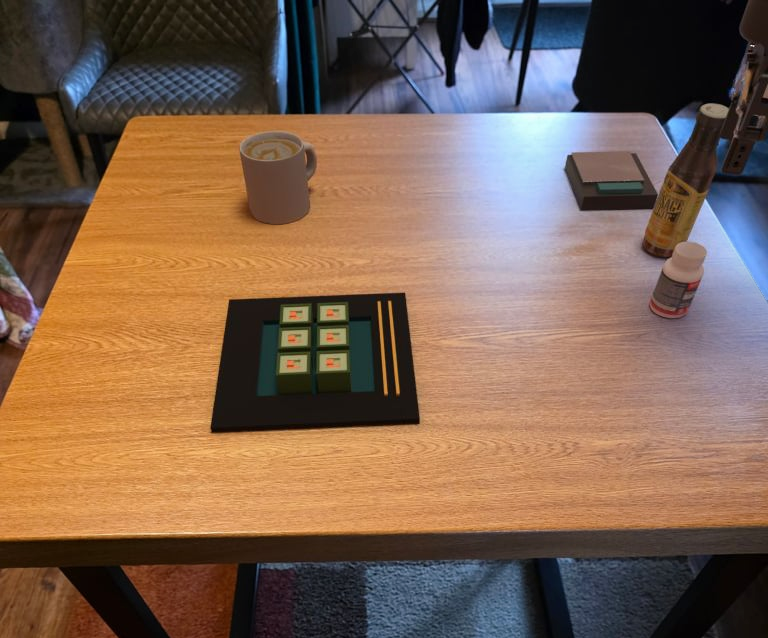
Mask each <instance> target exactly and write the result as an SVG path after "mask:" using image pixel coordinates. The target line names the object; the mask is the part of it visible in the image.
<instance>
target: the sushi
mask: <svg viewBox="0 0 768 638" xmlns="http://www.w3.org/2000/svg"><path fill="white" fill-rule="evenodd" d="M224 325H225V326H224V332H223V338H222V345H221V352H220V357H219V358H220V359H219V367H218V372H217V379H216V387H215V394H214V401H213V407H212V412H211V413H212V414H211V420H210V427H209V428H210V432H211V433H212V434H215V433H239V432H260V431H261V432H264V431H285V430H303V429H304V430H306V429H307V430H309V429H329V428H331V429H333V428H351V427H352V428H353V427H354V428H355V427H373V426H374V427H375V426H376V427H377V426H378V427H379V426H396V425H398V426H399V425H417V424H418V425H419V424H420V423H421V422H420V421H421V417H420V416H421V415H420V408H419V400H418V399H419V397H418V391H417V382H416V373H415V364H414V356H413V348H412V347H413V346H412V340H411V330H410V321H409V313H408V304H407V295H406V292H384V293H379V292H378V293H358V294H357V293H356V294H355V293H354V294H332V295H330V294H329V295H305V296H283V297H279V296H278V297H256V298H255V297H254V298H253V297H252V298H230V299H228V304H227V311H226V318H225V324H224Z"/></svg>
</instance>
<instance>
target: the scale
mask: <svg viewBox="0 0 768 638" xmlns="http://www.w3.org/2000/svg"><path fill="white" fill-rule="evenodd" d="M564 171H565V172H566V175H567V178H568V180H569V181H568V182H569V184H570V186H571V188H572V192H573V194H574V196H575V199H576V201H577V204H578V207H579V210H580V211H613V210H617V211H618V210H619V211H620V210H653V209H654V206H655V203H656V200H657V198H658V195H659V193H658V192H657V190H656V188H655V186H654V184H653V182H652V181H651V179H650V177H649V175H648V173H647V171H646V169H645V167H644V165H643V163H642V162H641V160H640V158H639V156H638V154H637V153H636V152H633V153H631V152H630V150H624V151H623V150H619V151H618V150H617V151H616V150H615V151H613V150H612V151H577V152H576V151H574V152H571V153H570V154H567V156H566V159H565V166H564Z"/></svg>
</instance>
